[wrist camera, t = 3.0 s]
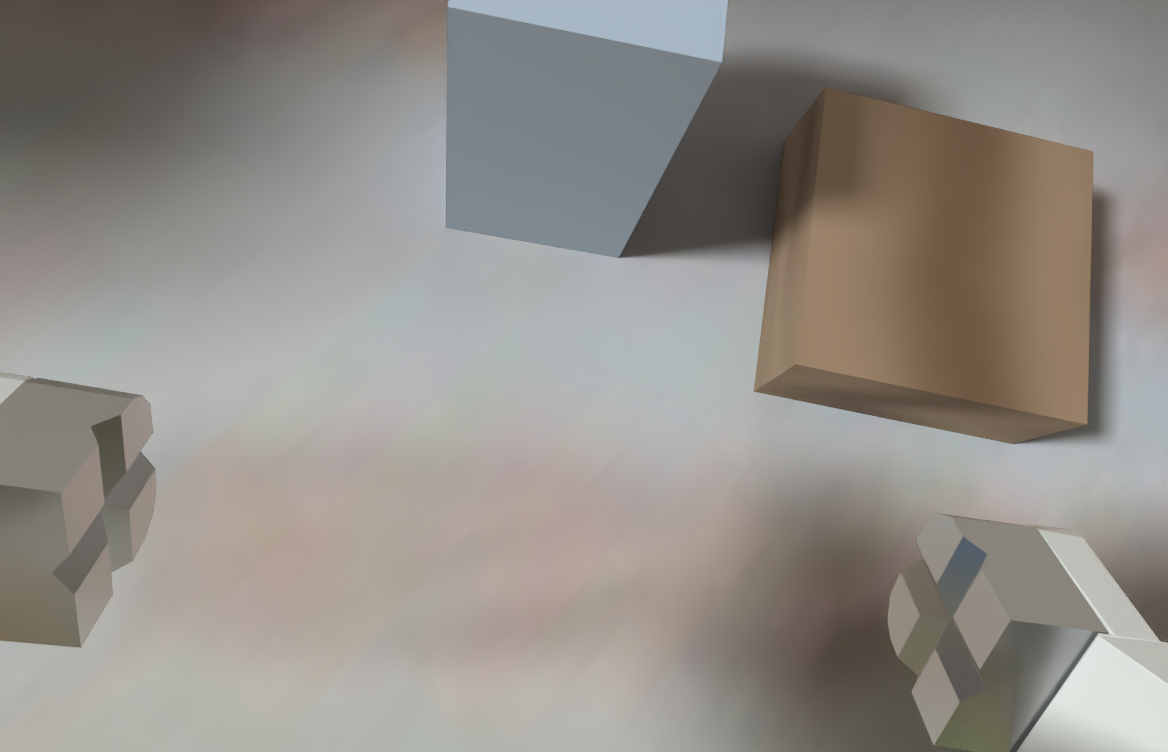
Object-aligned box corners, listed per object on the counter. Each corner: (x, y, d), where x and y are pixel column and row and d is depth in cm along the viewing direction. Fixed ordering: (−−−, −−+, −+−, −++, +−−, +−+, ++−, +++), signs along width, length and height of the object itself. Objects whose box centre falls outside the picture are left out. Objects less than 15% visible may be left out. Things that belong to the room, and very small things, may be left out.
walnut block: (750, 394, 26) (795, 364, 23) (780, 147, 28) (826, 87, 25) (1006, 445, 27) (1087, 424, 23) (1017, 202, 29) (1093, 151, 25)
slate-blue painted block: (445, 227, 25) (447, 6, 16) (472, 72, 27) (489, -221, 17) (618, 257, 26) (722, 61, 16) (637, 104, 27) (743, -162, 18)
